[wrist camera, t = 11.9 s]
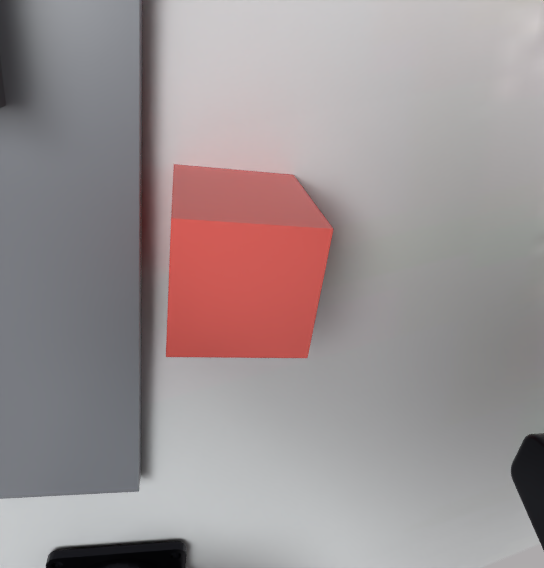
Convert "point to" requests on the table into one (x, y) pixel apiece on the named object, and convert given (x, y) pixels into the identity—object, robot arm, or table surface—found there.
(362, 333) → the table surface
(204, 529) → the table surface
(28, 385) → the panel
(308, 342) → the coral foam cube
